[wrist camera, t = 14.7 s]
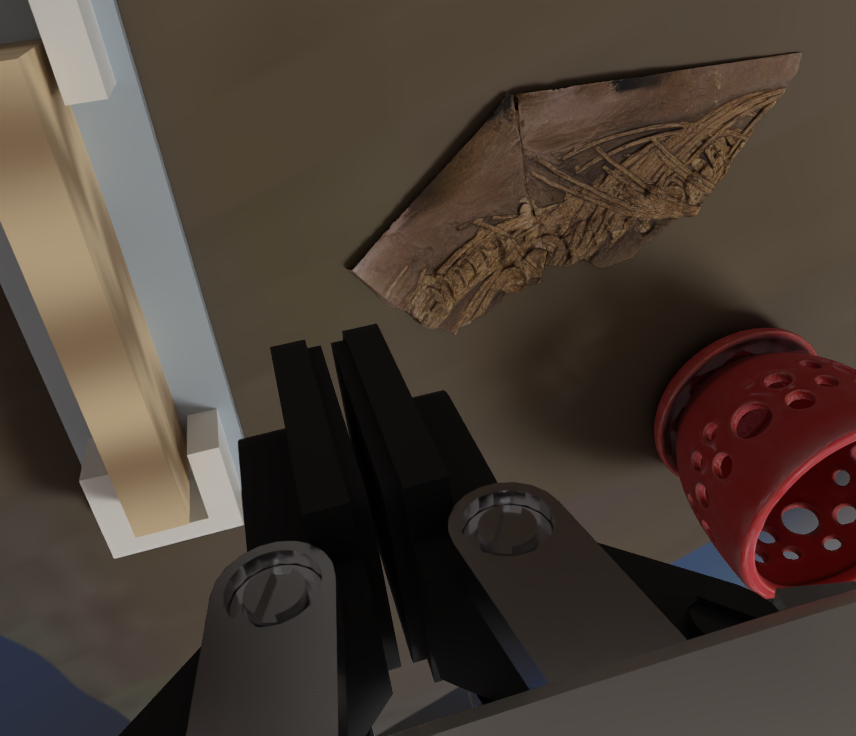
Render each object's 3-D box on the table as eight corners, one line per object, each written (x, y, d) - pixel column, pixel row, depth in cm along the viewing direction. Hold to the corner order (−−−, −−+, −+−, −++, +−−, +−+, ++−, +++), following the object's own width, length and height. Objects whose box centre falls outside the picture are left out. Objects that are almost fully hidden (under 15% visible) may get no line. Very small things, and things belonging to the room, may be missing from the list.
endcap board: (-138, -50, 27) (-192, -48, 23) (93, -78, 28) (77, -79, 24) (109, 512, 41) (100, 570, 37) (255, 475, 42) (261, 527, 39)
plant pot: (605, 381, 46) (721, 505, 36) (793, 274, 46) (962, 369, 36) (659, 512, 53) (768, 646, 43) (822, 420, 53) (969, 533, 43)
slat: (-19, 46, 28) (-65, 70, 23) (47, 37, 29) (17, 58, 24) (142, 460, 39) (135, 537, 34) (189, 448, 39) (189, 523, 34)
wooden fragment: (387, 359, 41) (391, 368, 40) (307, 176, 35) (310, 182, 34) (799, 176, 43) (812, 181, 42) (790, -29, 37) (805, -28, 36)
